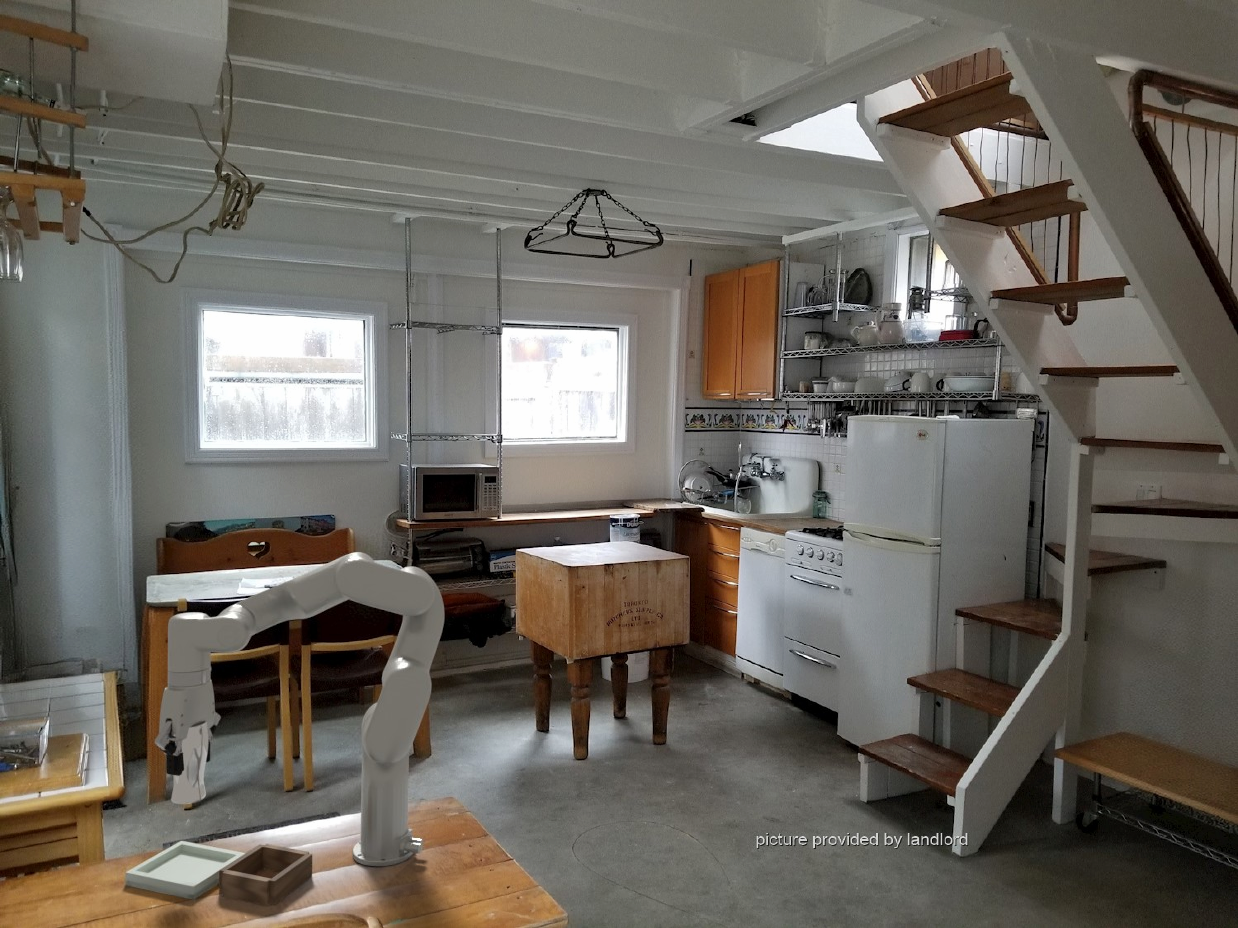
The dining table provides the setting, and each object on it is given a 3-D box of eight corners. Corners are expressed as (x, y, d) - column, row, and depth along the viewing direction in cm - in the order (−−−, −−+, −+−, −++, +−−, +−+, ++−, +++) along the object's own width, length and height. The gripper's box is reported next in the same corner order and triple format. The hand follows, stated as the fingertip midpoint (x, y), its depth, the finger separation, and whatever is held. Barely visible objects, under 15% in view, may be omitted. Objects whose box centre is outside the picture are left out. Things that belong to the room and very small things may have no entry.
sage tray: (245, 865, 178) (245, 852, 178) (193, 899, 165) (193, 886, 165) (181, 852, 183) (181, 840, 183) (125, 884, 169) (125, 872, 169)
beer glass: (192, 807, 169) (192, 729, 169) (160, 803, 171) (160, 726, 170) (216, 792, 176) (216, 718, 175) (185, 788, 177) (185, 715, 177)
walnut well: (313, 875, 175) (314, 852, 175) (272, 906, 163) (272, 882, 163) (261, 864, 178) (261, 842, 178) (216, 894, 167) (217, 871, 166)
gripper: (206, 664, 182) (205, 750, 182) (137, 686, 165) (137, 781, 166) (236, 668, 180) (235, 754, 180) (170, 691, 163) (169, 786, 164)
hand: (188, 766), depth 173 cm, fingers closed on beer glass, 6 cm apart
